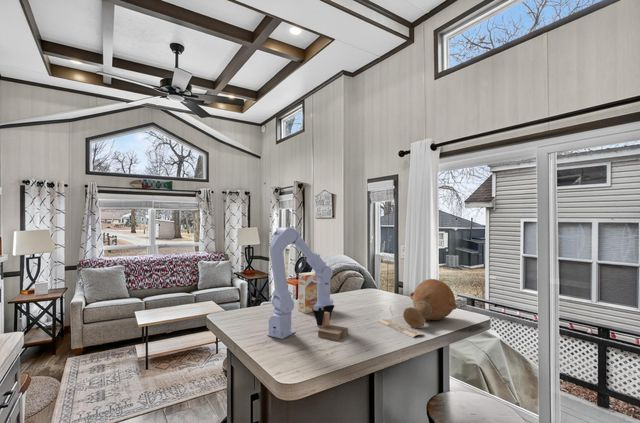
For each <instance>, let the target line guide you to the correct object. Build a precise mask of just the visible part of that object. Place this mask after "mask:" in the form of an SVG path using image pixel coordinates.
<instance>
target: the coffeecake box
mask: <svg viewBox="0 0 640 423" xmlns="http://www.w3.org/2000/svg"><path fill="white" fill-rule="evenodd" d="M317 281H318V276H317V275H315V271H311V272H309V271H308V272H299V273H298V288H297V289H298V290H297V292H298V293H297V294H298V296H297V298H298V299H297V311H298V312H301V313H304V314H309V313H313V311H312V309H313V306H314V305H315V304H316V303H317ZM321 309H322V310H323V308H321Z"/></svg>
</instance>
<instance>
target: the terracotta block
mask: <svg viewBox="0 0 640 423" xmlns="http://www.w3.org/2000/svg"><path fill="white" fill-rule="evenodd" d="M330 322H331V317H330V312H325V313H324V316H323V323H322V326H319V325H317V324H316V325H317V328H320V327H321V328H323V327H325V326H327V325H328V324H329V325H331V324H330ZM321 328H320V329H321Z"/></svg>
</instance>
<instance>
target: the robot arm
mask: <svg viewBox="0 0 640 423" xmlns="http://www.w3.org/2000/svg"><path fill="white" fill-rule="evenodd" d="M289 245H295V247H297V249H298V250H299V251H300V252H301V253H302V254H303V255H304V257H306V259H305V260H306V263H307V264H308V265H309V266H310V268H312V270H313V272H315V275H317V276H318V281H317V303H316V304H315V305H314V306H313V309H312V311H313V312H312V313H313V314H314V317H315V322H316V325H319V326H322V323H323V316H324V313H325V312H330V318H331V317H332V313H333V310H334V309H335V304H334V299H333V298H331V281H332V279H331V278H332V277H333V275H334V272H333V270H332V268H331V267H330V266H329V265H327V262H325V261H324V260H323V259H322V258H321V254H320V253H317V252H313V251H312V250H311V248H310V247H309V246H308V244H307V243H306V242H305V240H304V239H303V238H302V236H301V234H300V233H299V232H297V230H296V229H295V228H294V227H289V226H288V227H284V226H280V227H278V228H277V229H276V230H275V231H274V232H273V237H272V239H271V242H270V246H269V254H270V256H269V257H270V261H271V270H272V278H273V285H274V290H273V292H272V299H271V304H272V307H274V309H273V314H272V315H271V316H270V317H269V319H268V333H266V336H269V337H272V338H277V339H280V340H281V339H285V338H287V337H288V336H290V335H294V334H295V333H296V331H295V330H294V329H293V330H292V311H293V310H294V308H295V302H294V300H293V298H292V295H291V294H292V293H291V292H290V289H289V287H288V282H287V273H286V264H285V258H284V257H285V256H284V250H285V249H286V248H287V247H288V246H289ZM321 308H323V310H322V309H321Z"/></svg>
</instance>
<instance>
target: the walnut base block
mask: <svg viewBox="0 0 640 423" xmlns="http://www.w3.org/2000/svg"><path fill="white" fill-rule="evenodd" d="M348 329H349V328H348V327H345V326H339V325H334V324H330V325H329V324H328V325H327V326H325V327H323V328H320V329H318V330H317V337H318V338H322V339H327V340H333V341H336V342H339V341H340V340H342V339H343V338H344V337H346V336H347V335H349V330H348Z"/></svg>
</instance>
